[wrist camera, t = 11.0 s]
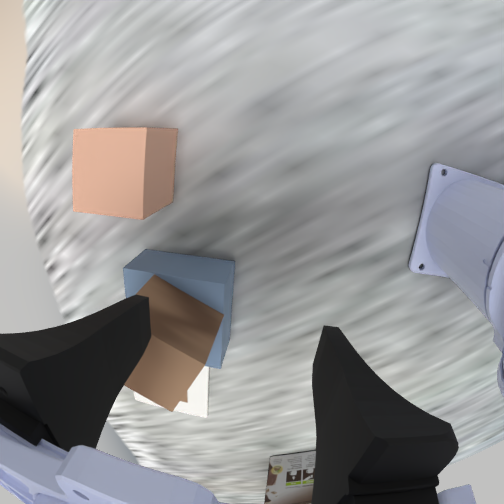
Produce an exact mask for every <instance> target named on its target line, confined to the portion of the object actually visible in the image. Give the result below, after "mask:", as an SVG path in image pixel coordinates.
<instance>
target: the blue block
mask: <svg viewBox="0 0 504 504" xmlns="http://www.w3.org/2000/svg"><path fill="white" fill-rule="evenodd" d="M234 270H235V261H230V260H222V259H215V258H207V257H200V256H192V255H185V254H177V253H170V252H163V251H155V250H148V249H145V250H144V251H143V252H142V253H140V254H139V255H138V256H137V257H136V258H134V259H133V260H132V261H131V262H130V263H128V264H127V265H126V266H125V267H124V268H123V273H124V284H125V294H126V298H128V297H131V296H133V295H135V294H136V293H137V292H138V291H139V290H140V289H141V288H142V287H143V286H144V285H145V284H146V283H147V282H148V280H149V279H150V278H151V277H152V276H153V275H154V274H155V275H157V276H158V277H160V278H161V279H163V280H165V281H166V282H168V283H170V284H171V285H173V286H175V287H177V288H178V289H180V290H182V291H183V292H185V293H187V294H189V295H190V296H192V297H194V298H195V299H197V300H199V301H201V302H202V303H204V304H206V305H208V306H209V307H211V308H213V309H215V310H217V311H218V312H220V313H222V314H224V317H223V320H222V322H221V325H220V327H219V330H218V333H217V335H216V338H215V341H214V343H213V346H212V348H211V351H210V354H209V356H208V359H207V362H206V364H205V366H207V367H213V368H219V369H221V366H222V363H223V359H224V356H225V353H226V350H227V347H228V343H229V340H230V327H231V312H232V298H233V284H234Z"/></svg>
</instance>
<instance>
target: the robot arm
mask: <svg viewBox="0 0 504 504" xmlns="http://www.w3.org/2000/svg"><path fill="white" fill-rule="evenodd" d="M442 169H444V170H445V174H444V175H442V174H441V171H442ZM421 264H423V267H422V268H419V266H420V265H421ZM409 269H410V270H411V271H412V272H415V273H422V274H429V275H435V276H442V277H449V278H451V279H452V281H453V282H454V283H455V284H456V285H457V286H458V287H459V288H460V289H461V290H462V291H463V292H464V293H465V294H466V295H467V297H468V298H469V299H470V300H471V301H472V302H473V303H474V304H475V305H476V307H477V308H478V309H479V310H480V311H481V312H482V313H483V315H484V316H485V317H486V318H487V319H488V320H489V322H490V323H491V324H492V326H493V328H494V338H493V342H494V343H495V344H496V345H497V347H498V348H499V349H500V351H501V352H502V353H503V355H502V357H501V360H500V362H499V365H498V370H497V380H498V386H499V388H500V391H501V393H502V395H503V397H504V185H502V184H500V183H497V182H494V181H491V180H489V179H486V178H483V177H480V176H477V175H474V174H471V173H468V172H465V171H462V170H459V169H455V168H452V167H449V166H446V165H442V164H439V163H434V164H433V165H432V166H431V169H430V174H429V180H428V185H427V190H426V195H425V200H424V205H423V210H422V214H421V219H420V223H419V227H418V231H417V235H416V239H415V243H414V247H413V250H412V254H411V258H410V261H409ZM150 339H151V324H150V308H149V297H146V296H141V295H133V296H131V297H128V298H126V299H124V300H122V301H120V302H117V303H115V304H113V305H111V306H109V307H107V308H105V309H103V310H100V311H98V312H96V313H94V314H91V315H89V316H86V317H84V318H82V319H79V320H76V321H73V322H71V323H67V324H64V325H61V326H57V327H53V328H48V329H44V330H39V331H33V332H25V333H13V334H0V485H1V486H3V487H4V488H5V489H7V490H8V491H9V492H10V493H12V494H13V495H14V496H16V497H17V498H18V499H20V500H21V501H22V502H24V503H25V504H228V503H223V502H218V500H217V499H216V497H215V496H214V494H213V493H212V492H211V491H210V490H208V489H206V488H205V487H203V486H201V485H200V484H198V483H196V482H193V481H190V480H187V479H184V478H181V477H178V476H175V475H171V474H167V473H164V472H160V471H157V470H153V469H150V468H147V467H144V466H141V465H138V464H134V463H132V462H129V461H126V460H123V459H120V458H118V457H115V456H112V455H110V454H107V453H105V452H102V451H100V450H97V449H96V446H97V443H98V440H99V438H100V435H101V432H102V429H103V427H104V424H105V422H106V420H107V417H108V415H109V413H110V410H111V408H112V406H113V404H114V402H115V399H116V397H117V396H118V394H119V392H120V390H121V389H122V387H123V386H124V384H125V383H126V381H127V379H128V378H129V376H130V375H131V373H132V372H133V370H134V369H135V367H136V365H137V364H138V362H139V361H140V359H141V358H142V356H143V354H144V352H145V350H146V348H147V346H148V343H149V341H150ZM312 389H313V399H314V410H315V420H316V436H317V439H316V460H315V473H314V484H313V493H312V501H311V504H476V502H475V498H474V495H473V491H472V488H471V485H469V484H468V485H464V486H460V487H456V488H451V489H447V490H444V491H442V492H440V493H438V494H437V493H436V488H435V487H436V486H438V485H439V479H438V476H437V475H438V474H439V473H440V472H441V471H442V470H443V469H444V468H445V467H446V466H447V465H448V464H449V463H450V461H451V460H452V459H453V458H454V456H455V455H456V453H457V451H458V448H459V447H458V442H457V439H456V436H455V434H454V431H453V429H452V426H451V424H450V423H448V422H445V421H443V420H441V419H439V418H437V417H435V416H432V415H430V414H429V413H427V412H425V411H423V410H422V409H420V408H418V407H416V406H415V405H413V404H412V403H410V402H409V401H407V400H406V399H405V398H403V397H402V396H401V395H399V394H398V393H396V392H395V391H394V390H393V389H392V388H390V387H389V386H388V385H387V384H386V383H385V382H384V381H383V380H382V379H380V378H379V377H378V376H377V375H376V374H375V372H374V371H373V370H372V369H371V368H370V367H369V366H368V365H367V364H366V363H365V361H364V360H363V359H362V358H361V357H360V355H359V354H358V353H357V351H356V350H355V349H354V348H353V346H352V345H351V344H350V342H349V341H348V340H347V338H346V337H345V335H344V334H343V333H342V331H341V330H340V329H339V327H332V326H323V330H322V334H321V337H320V341H319V345H318V348H317V352H316V355H315V359H314V362H313V373H312Z"/></svg>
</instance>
